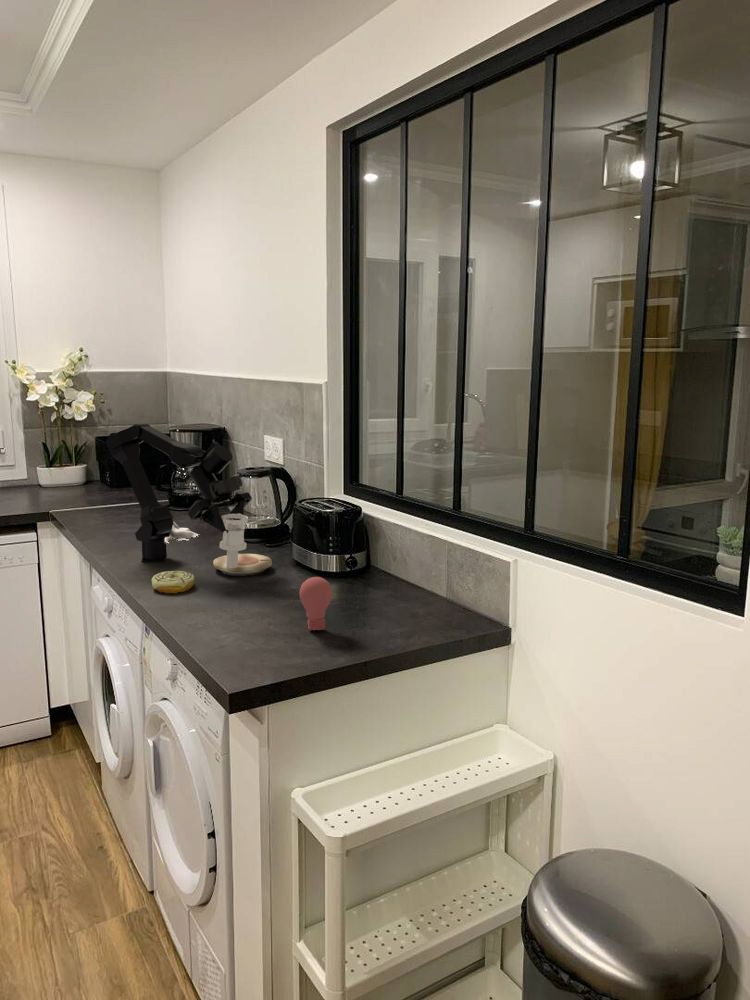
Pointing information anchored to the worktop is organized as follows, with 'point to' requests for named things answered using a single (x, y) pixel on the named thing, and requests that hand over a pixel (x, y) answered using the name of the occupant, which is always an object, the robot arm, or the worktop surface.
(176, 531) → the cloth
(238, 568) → the turntable
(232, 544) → the strainer
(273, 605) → the worktop surface
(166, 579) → the decorated donut
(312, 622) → the light bulb
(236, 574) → the turntable base
